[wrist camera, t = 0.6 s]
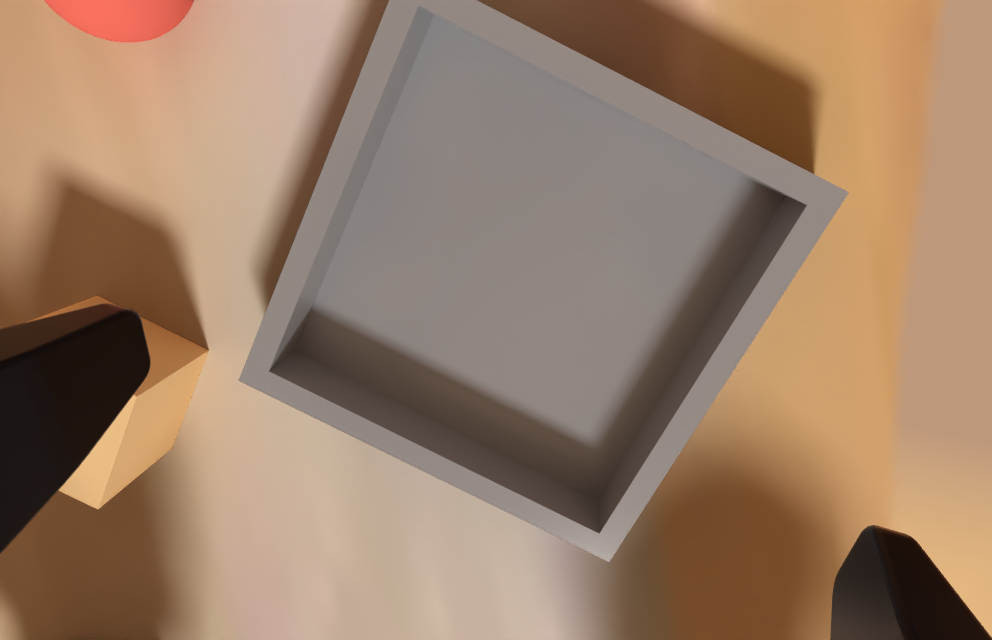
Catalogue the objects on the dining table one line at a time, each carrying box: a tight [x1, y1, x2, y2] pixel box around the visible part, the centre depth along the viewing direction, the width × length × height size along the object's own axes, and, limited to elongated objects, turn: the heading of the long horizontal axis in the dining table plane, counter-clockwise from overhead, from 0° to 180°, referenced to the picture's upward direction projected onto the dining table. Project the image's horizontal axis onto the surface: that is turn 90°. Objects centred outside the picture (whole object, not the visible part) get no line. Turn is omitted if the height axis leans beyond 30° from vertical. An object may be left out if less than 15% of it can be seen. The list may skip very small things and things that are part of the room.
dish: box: [239, 0, 849, 562], centre depth 20 cm, size 12×12×2 cm
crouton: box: [25, 296, 209, 509], centre depth 21 cm, size 4×4×4 cm
